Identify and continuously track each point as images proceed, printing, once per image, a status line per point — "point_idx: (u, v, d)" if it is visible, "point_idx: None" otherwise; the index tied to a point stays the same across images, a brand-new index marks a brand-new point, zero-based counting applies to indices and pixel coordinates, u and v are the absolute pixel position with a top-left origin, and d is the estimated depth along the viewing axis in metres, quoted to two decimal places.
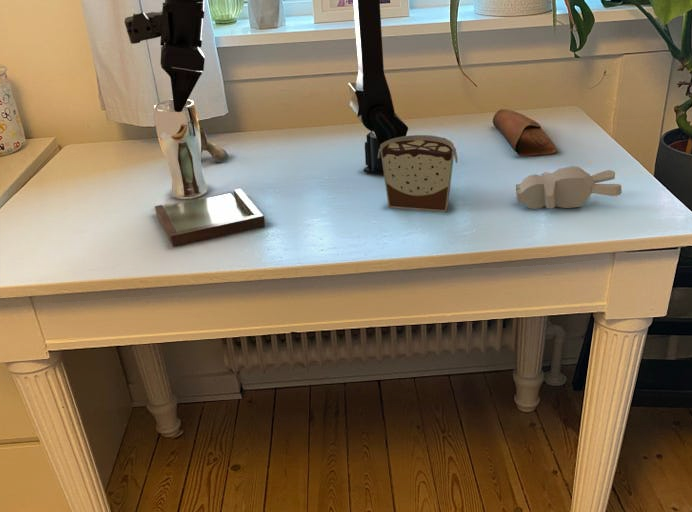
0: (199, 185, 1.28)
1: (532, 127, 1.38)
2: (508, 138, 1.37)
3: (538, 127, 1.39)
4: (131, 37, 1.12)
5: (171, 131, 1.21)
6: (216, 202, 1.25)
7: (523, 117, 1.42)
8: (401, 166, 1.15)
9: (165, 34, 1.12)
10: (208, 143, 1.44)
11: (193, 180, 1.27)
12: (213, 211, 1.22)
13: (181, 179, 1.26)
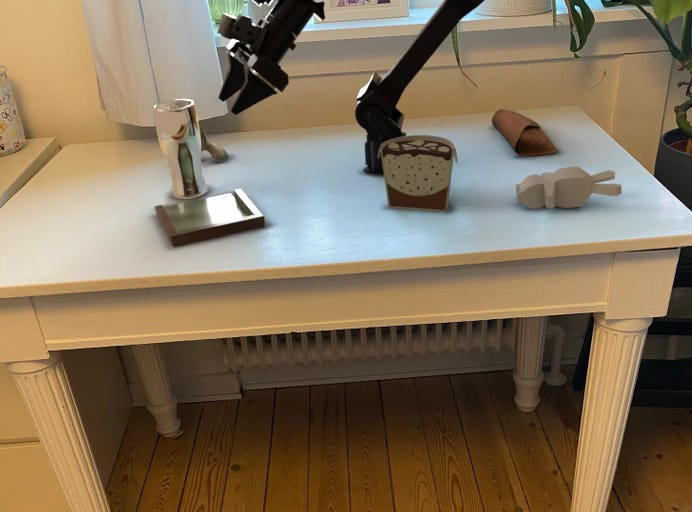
0: (199, 185, 1.28)
1: (531, 127, 1.38)
2: (508, 138, 1.37)
3: (537, 127, 1.39)
4: (226, 31, 1.17)
5: (171, 131, 1.21)
6: (216, 202, 1.25)
7: (522, 117, 1.42)
8: (401, 166, 1.15)
9: (256, 45, 1.19)
10: (208, 143, 1.44)
11: (193, 180, 1.27)
12: (213, 211, 1.22)
13: (181, 179, 1.26)
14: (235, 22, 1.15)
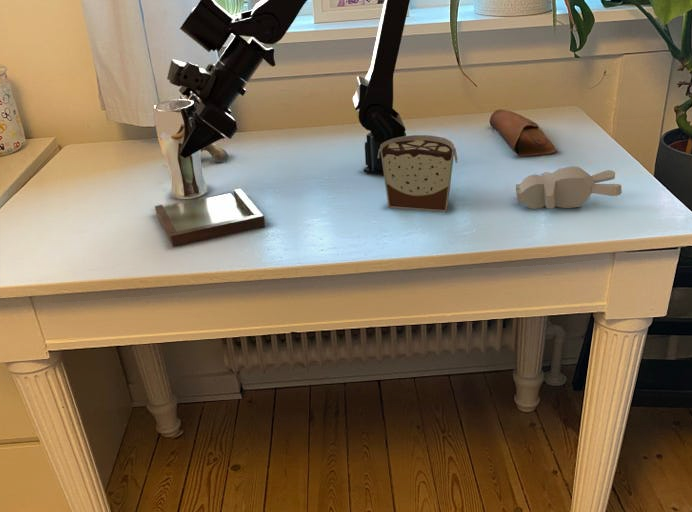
0: (199, 185, 1.28)
1: (530, 127, 1.38)
2: (507, 138, 1.37)
3: (536, 127, 1.39)
4: (174, 78, 1.18)
5: (171, 131, 1.21)
6: (216, 202, 1.25)
7: (521, 117, 1.42)
8: (401, 166, 1.15)
9: (205, 91, 1.20)
10: None
11: (193, 180, 1.27)
12: (213, 211, 1.22)
13: (181, 179, 1.26)
14: (183, 70, 1.16)
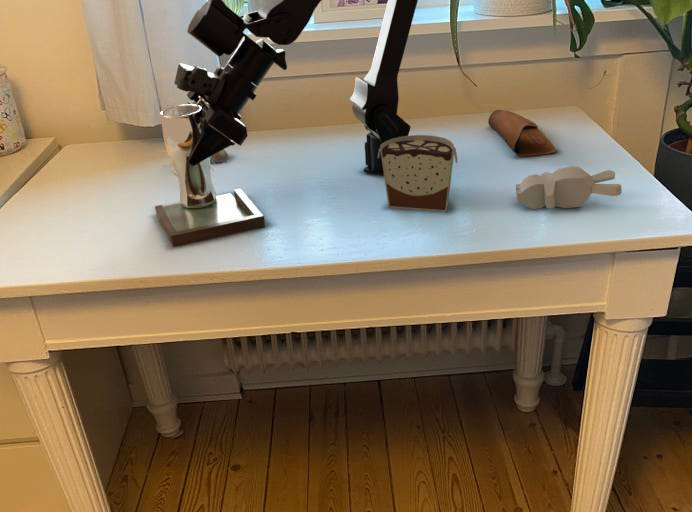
0: (208, 193, 1.23)
1: (529, 127, 1.38)
2: (506, 138, 1.37)
3: (535, 127, 1.39)
4: (182, 83, 1.13)
5: (179, 138, 1.16)
6: (216, 202, 1.25)
7: (520, 117, 1.42)
8: (401, 166, 1.15)
9: (214, 96, 1.15)
10: None
11: (202, 188, 1.22)
12: (213, 211, 1.22)
13: (189, 187, 1.21)
14: (190, 75, 1.11)
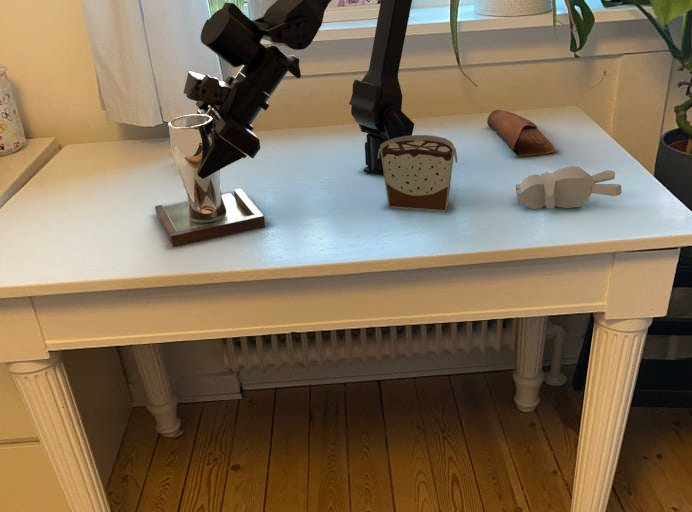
0: (218, 207, 1.17)
1: (529, 127, 1.38)
2: (506, 139, 1.37)
3: (534, 127, 1.39)
4: (192, 93, 1.08)
5: (188, 150, 1.11)
6: None
7: (519, 117, 1.42)
8: (401, 166, 1.15)
9: (225, 106, 1.10)
10: None
11: (211, 202, 1.16)
12: None
13: (198, 201, 1.16)
14: (201, 84, 1.06)
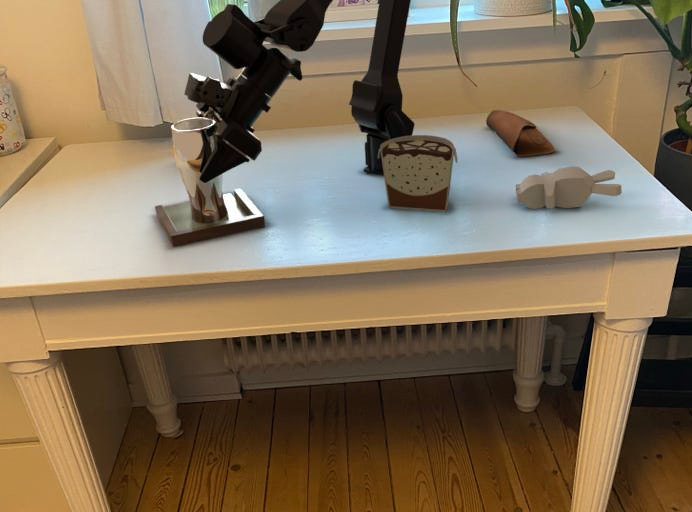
0: (220, 211, 1.17)
1: (528, 127, 1.38)
2: (505, 139, 1.37)
3: (534, 127, 1.39)
4: (193, 94, 1.07)
5: (191, 153, 1.10)
6: None
7: (518, 117, 1.42)
8: (401, 166, 1.15)
9: (227, 108, 1.09)
10: None
11: (213, 206, 1.16)
12: None
13: (200, 205, 1.15)
14: (202, 85, 1.05)
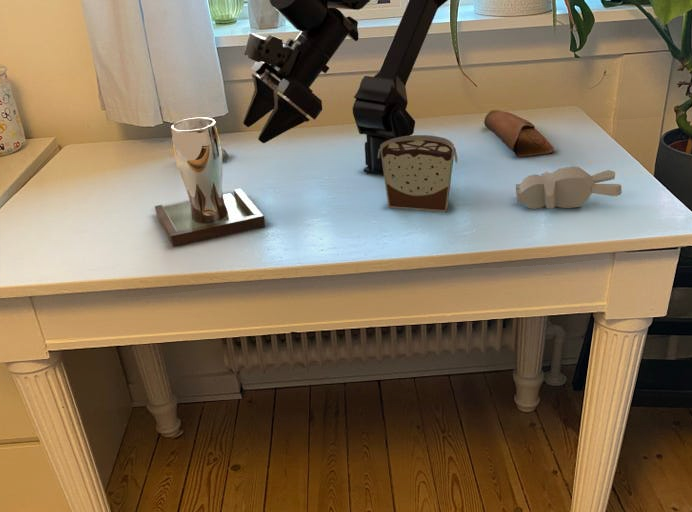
0: (220, 211, 1.17)
1: (527, 127, 1.38)
2: (504, 139, 1.37)
3: (533, 127, 1.39)
4: (254, 53, 1.07)
5: (191, 153, 1.10)
6: None
7: (516, 117, 1.42)
8: (401, 166, 1.15)
9: (287, 68, 1.09)
10: None
11: (213, 206, 1.16)
12: None
13: (200, 205, 1.15)
14: (264, 44, 1.06)
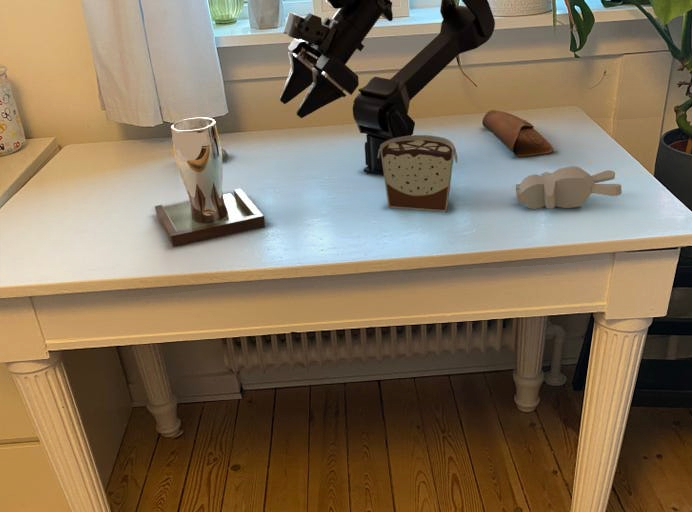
0: (220, 211, 1.17)
1: (526, 127, 1.38)
2: (504, 139, 1.37)
3: (531, 127, 1.39)
4: (294, 31, 1.12)
5: (191, 153, 1.10)
6: None
7: (515, 118, 1.42)
8: (401, 166, 1.15)
9: (324, 46, 1.14)
10: None
11: (213, 206, 1.16)
12: None
13: (200, 205, 1.15)
14: (304, 22, 1.11)
